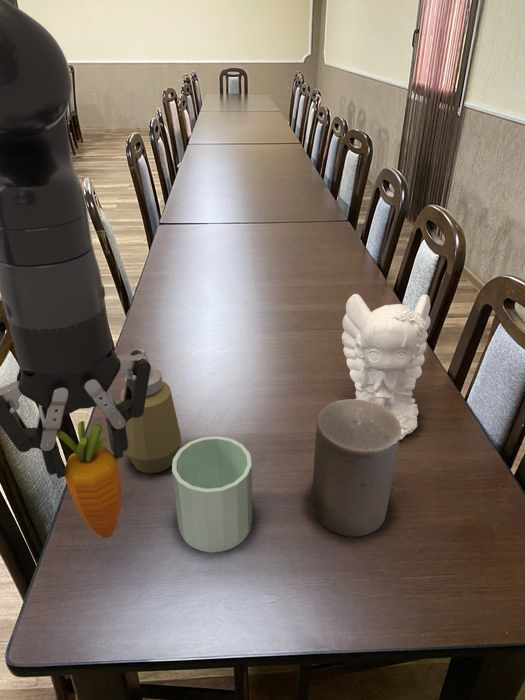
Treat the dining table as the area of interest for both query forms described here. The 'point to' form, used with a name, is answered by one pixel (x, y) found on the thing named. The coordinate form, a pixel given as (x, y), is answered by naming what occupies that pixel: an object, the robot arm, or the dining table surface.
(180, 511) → the tumbler
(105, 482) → the carrot
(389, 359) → the cherub figurine
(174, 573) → the dining table surface
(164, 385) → the squeeze bottle
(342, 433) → the pillar candle
